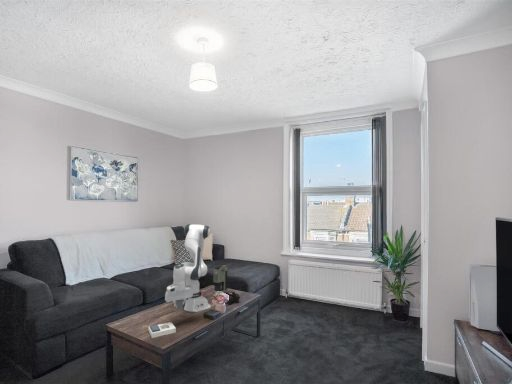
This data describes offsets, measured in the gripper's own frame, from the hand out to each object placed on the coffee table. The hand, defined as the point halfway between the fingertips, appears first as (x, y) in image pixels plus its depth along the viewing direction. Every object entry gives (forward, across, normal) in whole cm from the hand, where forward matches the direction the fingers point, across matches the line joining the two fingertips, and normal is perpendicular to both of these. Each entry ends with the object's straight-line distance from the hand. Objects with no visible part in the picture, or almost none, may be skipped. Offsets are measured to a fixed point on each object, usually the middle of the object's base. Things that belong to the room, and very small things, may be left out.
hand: (179, 305), depth 215 cm
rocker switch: (+2, 0, 0) cm, 3 cm away
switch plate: (+14, +14, +5) cm, 20 cm away
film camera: (+17, -54, -23) cm, 61 cm away
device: (+17, -54, -46) cm, 73 cm away
